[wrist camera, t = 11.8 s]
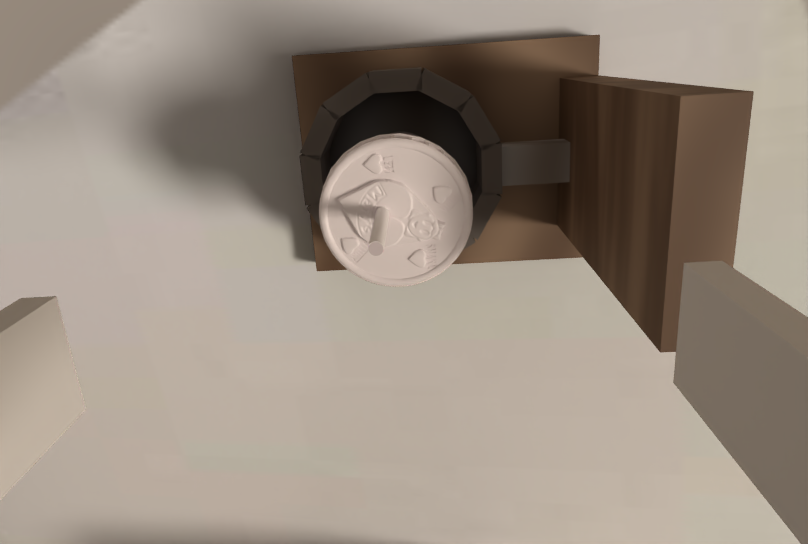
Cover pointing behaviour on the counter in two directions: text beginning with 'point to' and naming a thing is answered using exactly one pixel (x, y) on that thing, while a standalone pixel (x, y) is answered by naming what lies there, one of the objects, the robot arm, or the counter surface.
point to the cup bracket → (548, 156)
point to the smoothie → (396, 209)
